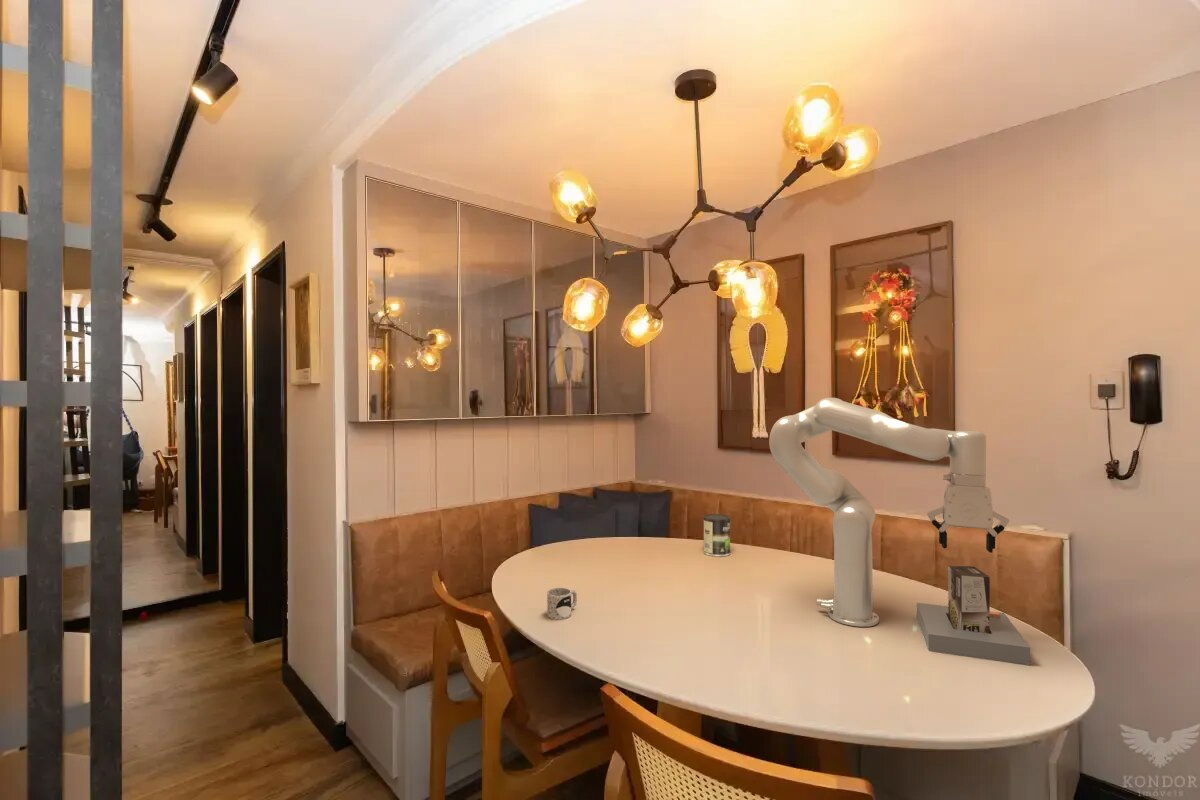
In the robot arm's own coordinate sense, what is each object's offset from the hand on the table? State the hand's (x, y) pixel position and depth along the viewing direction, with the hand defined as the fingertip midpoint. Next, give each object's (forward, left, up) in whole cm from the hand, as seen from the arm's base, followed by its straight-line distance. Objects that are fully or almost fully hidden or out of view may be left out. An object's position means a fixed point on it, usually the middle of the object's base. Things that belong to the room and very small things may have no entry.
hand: (966, 549), depth 142 cm
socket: (0, 0, -22) cm, 22 cm away
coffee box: (0, 0, -22) cm, 22 cm away
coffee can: (-73, +55, -23) cm, 94 cm away
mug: (-101, -22, -23) cm, 106 cm away
